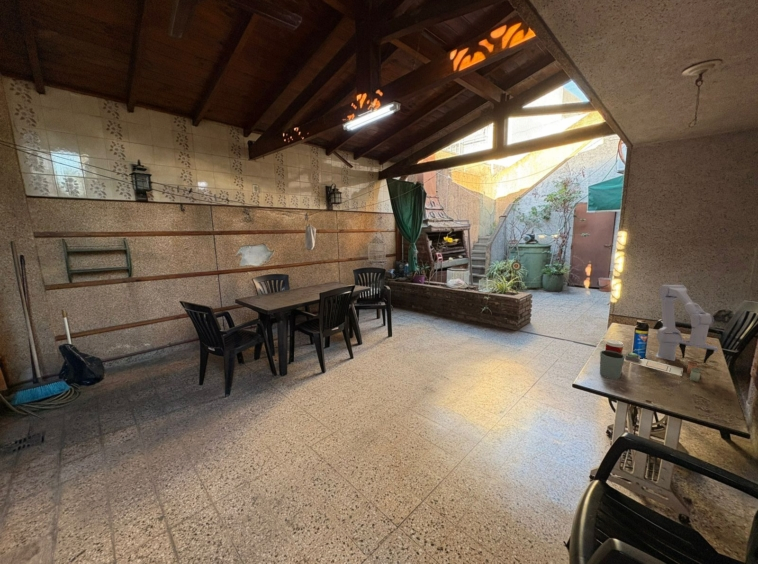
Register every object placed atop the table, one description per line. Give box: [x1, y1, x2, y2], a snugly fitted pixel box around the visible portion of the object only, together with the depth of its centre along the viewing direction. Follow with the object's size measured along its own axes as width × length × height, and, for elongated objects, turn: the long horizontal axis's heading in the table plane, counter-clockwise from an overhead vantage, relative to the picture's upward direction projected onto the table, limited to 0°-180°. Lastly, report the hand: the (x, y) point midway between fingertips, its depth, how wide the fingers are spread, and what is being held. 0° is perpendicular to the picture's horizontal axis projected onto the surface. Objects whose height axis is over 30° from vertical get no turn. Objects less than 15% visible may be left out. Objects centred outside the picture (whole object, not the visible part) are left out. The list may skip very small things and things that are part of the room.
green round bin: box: [599, 350, 626, 380], centre depth 153 cm, size 10×10×12 cm
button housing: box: [624, 352, 642, 363], centre depth 170 cm, size 6×6×2 cm
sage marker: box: [689, 367, 702, 383], centre depth 147 cm, size 3×3×6 cm
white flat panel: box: [624, 358, 684, 378], centre depth 164 cm, size 12×24×1 cm, turn 41°
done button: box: [628, 352, 638, 358], centre depth 170 cm, size 4×4×2 cm
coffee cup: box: [604, 339, 625, 355], centre depth 161 cm, size 8×8×15 cm
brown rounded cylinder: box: [686, 360, 698, 375], centre depth 154 cm, size 3×3×6 cm
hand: (693, 359), depth 153 cm, fingers open, 7 cm apart
